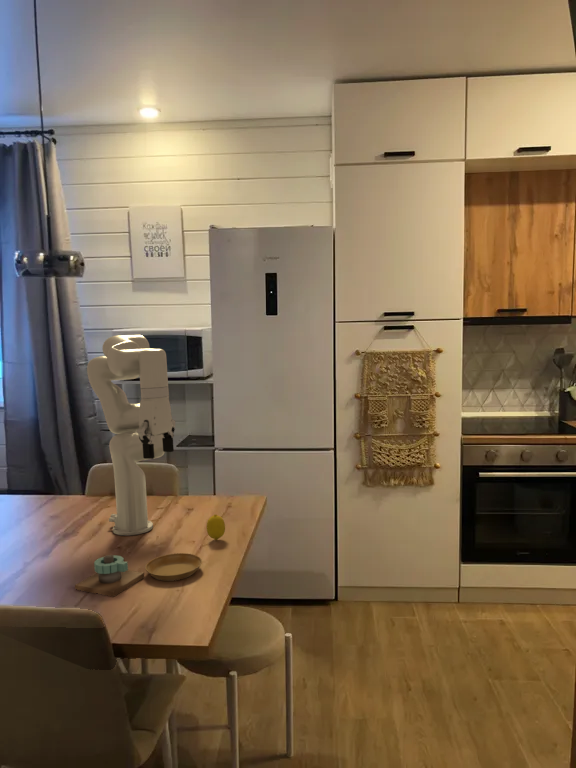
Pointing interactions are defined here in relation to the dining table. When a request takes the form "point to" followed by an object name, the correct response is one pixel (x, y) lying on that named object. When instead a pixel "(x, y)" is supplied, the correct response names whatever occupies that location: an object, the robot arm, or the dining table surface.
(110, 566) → the ring
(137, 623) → the dining table surface
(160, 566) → the plant saucer
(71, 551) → the dining table surface
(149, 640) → the dining table surface
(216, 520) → the lemon
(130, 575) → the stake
